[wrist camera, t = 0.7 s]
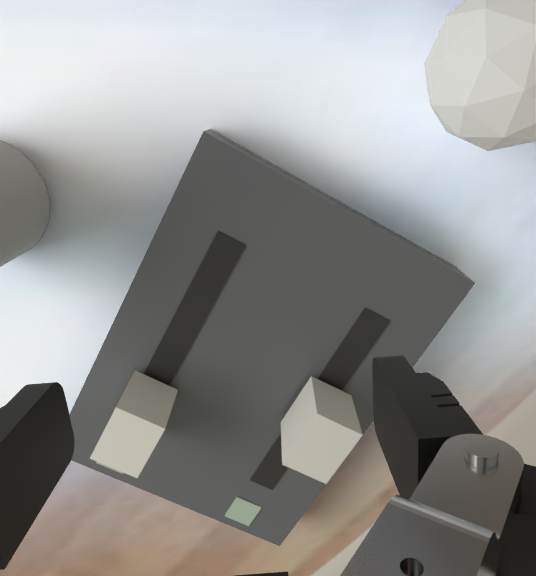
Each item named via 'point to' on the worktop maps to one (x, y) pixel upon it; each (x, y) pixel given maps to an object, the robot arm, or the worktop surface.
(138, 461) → the handle
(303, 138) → the worktop surface
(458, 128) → the ball
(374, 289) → the breaker panel
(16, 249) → the can
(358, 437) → the block
